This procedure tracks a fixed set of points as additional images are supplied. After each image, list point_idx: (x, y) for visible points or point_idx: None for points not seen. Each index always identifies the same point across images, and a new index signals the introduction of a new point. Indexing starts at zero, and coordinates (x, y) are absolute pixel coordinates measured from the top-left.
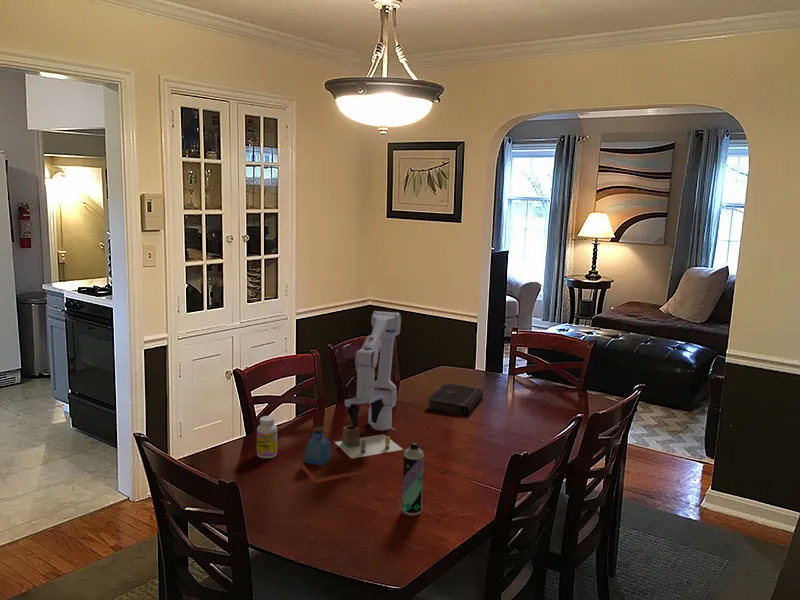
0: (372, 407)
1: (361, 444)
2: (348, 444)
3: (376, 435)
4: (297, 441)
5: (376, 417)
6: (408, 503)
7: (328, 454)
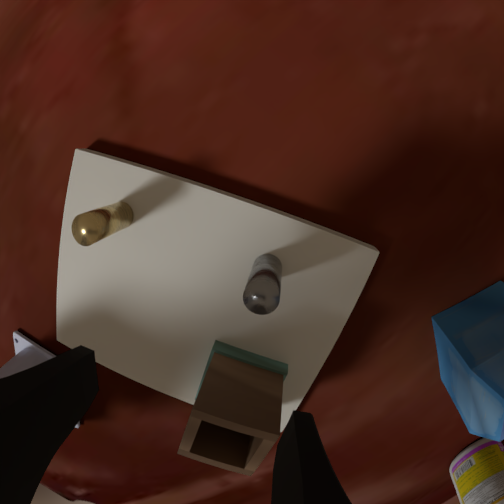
0: (28, 476)
1: (280, 291)
2: (278, 374)
3: None
4: (345, 488)
5: (51, 372)
6: None
7: (474, 328)
